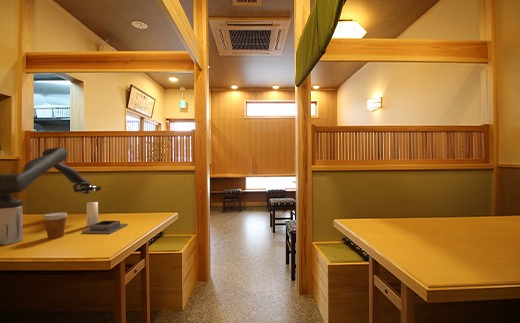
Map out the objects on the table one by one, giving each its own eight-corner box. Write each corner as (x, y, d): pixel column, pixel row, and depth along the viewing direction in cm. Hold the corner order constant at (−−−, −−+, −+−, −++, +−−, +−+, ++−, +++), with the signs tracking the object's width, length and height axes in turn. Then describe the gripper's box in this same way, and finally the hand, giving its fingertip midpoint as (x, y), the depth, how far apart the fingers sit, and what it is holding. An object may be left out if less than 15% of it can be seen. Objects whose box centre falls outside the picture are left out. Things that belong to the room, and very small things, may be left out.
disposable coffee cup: (72, 234, 129) (72, 212, 129) (55, 240, 119) (55, 216, 119) (56, 233, 130) (56, 211, 130) (38, 239, 120) (38, 215, 120)
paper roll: (93, 227, 142) (93, 203, 142) (84, 227, 143) (84, 203, 142) (100, 224, 148) (100, 201, 148) (91, 224, 148) (91, 201, 148)
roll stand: (110, 233, 130) (110, 226, 130) (81, 233, 130) (81, 226, 130) (127, 225, 146) (127, 219, 146) (101, 225, 146) (101, 219, 146)
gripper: (72, 183, 160) (75, 185, 148) (97, 181, 170) (102, 183, 158) (72, 194, 160) (75, 197, 148) (97, 192, 170) (102, 194, 158)
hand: (89, 190), depth 153 cm, fingers open, 8 cm apart
